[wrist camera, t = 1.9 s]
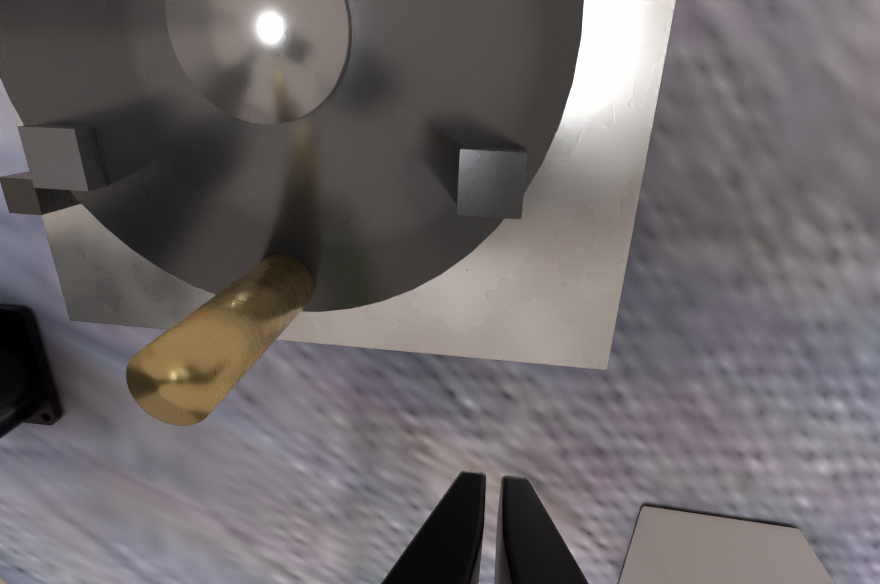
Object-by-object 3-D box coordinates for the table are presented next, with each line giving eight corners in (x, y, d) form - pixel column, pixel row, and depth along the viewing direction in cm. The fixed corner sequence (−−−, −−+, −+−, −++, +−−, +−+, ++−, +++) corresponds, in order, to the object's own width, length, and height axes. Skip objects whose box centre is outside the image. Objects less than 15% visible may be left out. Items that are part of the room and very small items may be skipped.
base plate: (600, 351, 22) (622, 415, 17) (95, 306, 24) (9, 353, 20) (745, -461, 13) (858, -720, 9) (-81, -410, 15) (-303, -595, 11)
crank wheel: (-14, -316, 14) (-775, -892, 6) (614, -342, 13) (833, -1210, 4) (114, 263, 21) (-156, 388, 12) (538, 296, 19) (562, 468, 11)
